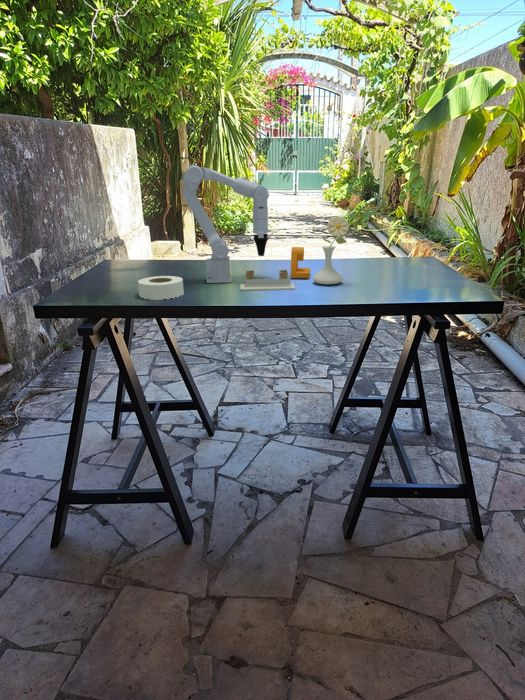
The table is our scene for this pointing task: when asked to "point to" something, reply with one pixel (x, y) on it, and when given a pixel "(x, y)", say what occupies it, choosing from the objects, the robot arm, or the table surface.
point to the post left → (249, 274)
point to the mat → (267, 288)
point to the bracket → (297, 255)
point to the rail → (266, 282)
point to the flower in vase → (337, 229)
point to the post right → (283, 274)
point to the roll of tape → (160, 287)
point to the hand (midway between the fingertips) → (261, 254)
